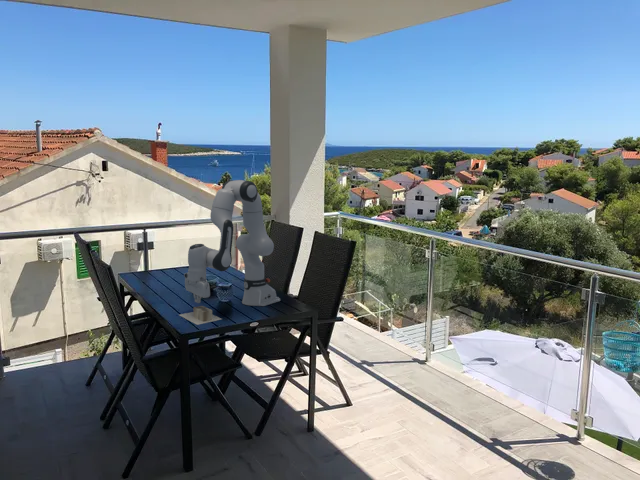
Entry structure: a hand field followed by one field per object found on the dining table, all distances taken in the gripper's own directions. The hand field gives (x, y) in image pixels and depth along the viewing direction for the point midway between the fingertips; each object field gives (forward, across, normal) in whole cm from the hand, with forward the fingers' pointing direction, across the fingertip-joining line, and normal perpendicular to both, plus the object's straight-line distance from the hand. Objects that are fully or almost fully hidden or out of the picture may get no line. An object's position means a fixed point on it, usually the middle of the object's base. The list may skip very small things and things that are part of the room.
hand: (197, 302), depth 244 cm
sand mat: (+8, -2, 0) cm, 8 cm away
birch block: (+5, 0, 0) cm, 5 cm away
